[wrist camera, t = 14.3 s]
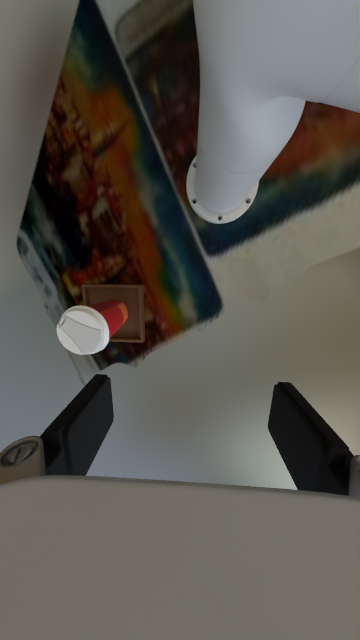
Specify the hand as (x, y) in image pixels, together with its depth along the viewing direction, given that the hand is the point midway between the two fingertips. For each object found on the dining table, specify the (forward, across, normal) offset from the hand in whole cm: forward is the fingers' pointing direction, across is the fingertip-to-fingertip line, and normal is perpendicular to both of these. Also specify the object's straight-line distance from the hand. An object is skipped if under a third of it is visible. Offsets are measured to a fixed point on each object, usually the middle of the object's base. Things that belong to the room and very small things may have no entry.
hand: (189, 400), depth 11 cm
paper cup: (+30, +16, +2) cm, 34 cm away
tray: (+30, +16, +2) cm, 34 cm away
